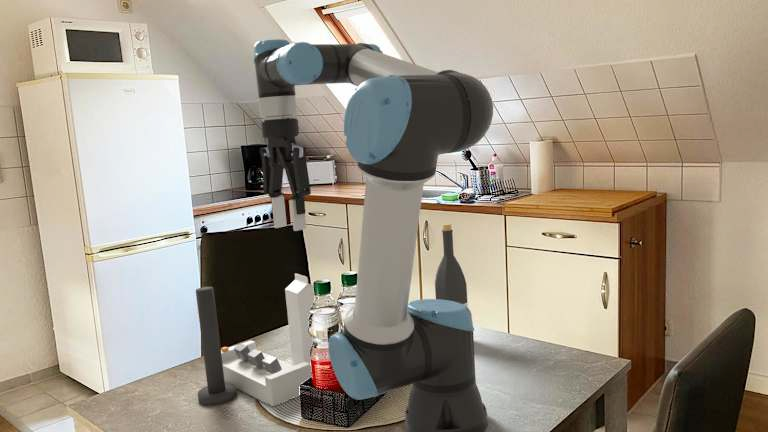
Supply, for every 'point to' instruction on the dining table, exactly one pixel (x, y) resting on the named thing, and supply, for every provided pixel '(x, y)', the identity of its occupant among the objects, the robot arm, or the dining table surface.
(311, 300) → the milk
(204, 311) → the post
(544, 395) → the dining table surface
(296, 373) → the strip
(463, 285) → the wine bottle
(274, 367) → the paddle bank
